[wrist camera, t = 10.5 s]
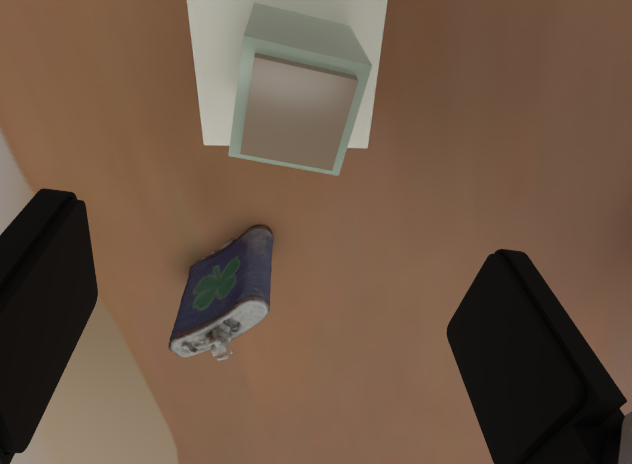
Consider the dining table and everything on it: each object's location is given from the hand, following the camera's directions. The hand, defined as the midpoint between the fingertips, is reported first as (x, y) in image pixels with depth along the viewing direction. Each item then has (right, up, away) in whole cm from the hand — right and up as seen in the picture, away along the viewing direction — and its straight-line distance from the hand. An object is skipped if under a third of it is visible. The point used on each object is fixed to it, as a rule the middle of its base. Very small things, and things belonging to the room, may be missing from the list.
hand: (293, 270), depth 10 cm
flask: (-7, -1, +29) cm, 29 cm away
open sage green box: (-1, +10, +13) cm, 17 cm away
